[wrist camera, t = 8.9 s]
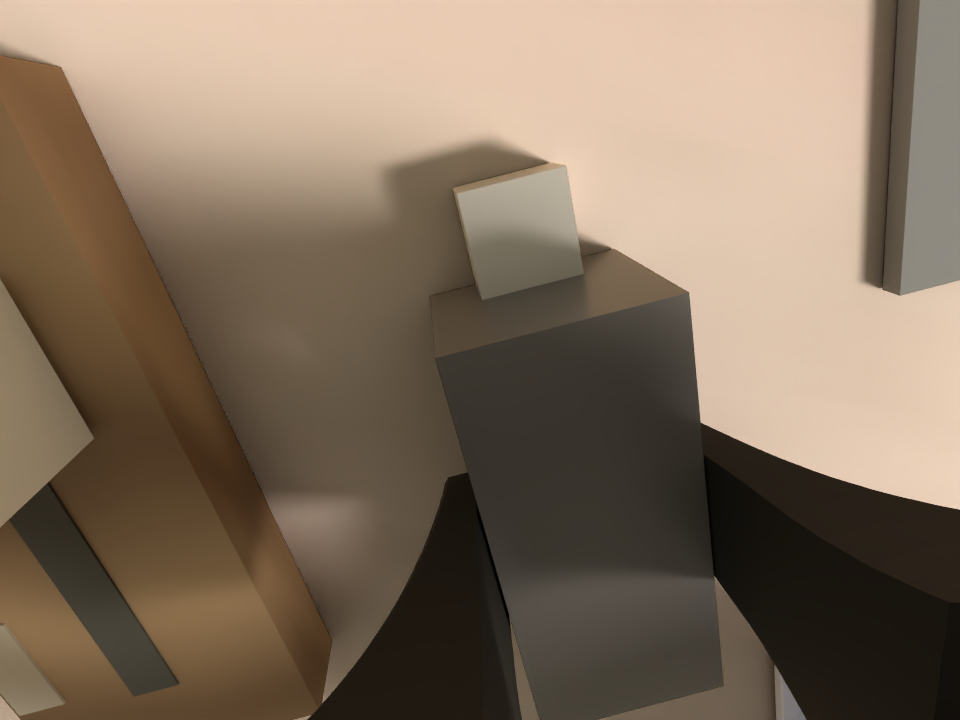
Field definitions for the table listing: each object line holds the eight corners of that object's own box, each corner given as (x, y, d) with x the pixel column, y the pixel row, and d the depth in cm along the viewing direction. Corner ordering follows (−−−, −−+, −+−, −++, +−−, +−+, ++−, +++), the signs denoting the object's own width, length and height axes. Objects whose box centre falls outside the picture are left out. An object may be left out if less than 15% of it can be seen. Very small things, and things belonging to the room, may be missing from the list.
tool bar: (658, 569, 15) (723, 686, 12) (516, 606, 15) (543, 733, 12) (600, 150, 11) (676, 156, 8) (402, 200, 11) (397, 228, 8)
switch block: (332, 641, 15) (319, 715, 13) (113, 698, 15) (69, 781, 13) (61, 67, 10) (-27, 51, 8) (-285, 153, 9) (-460, 159, 8)
